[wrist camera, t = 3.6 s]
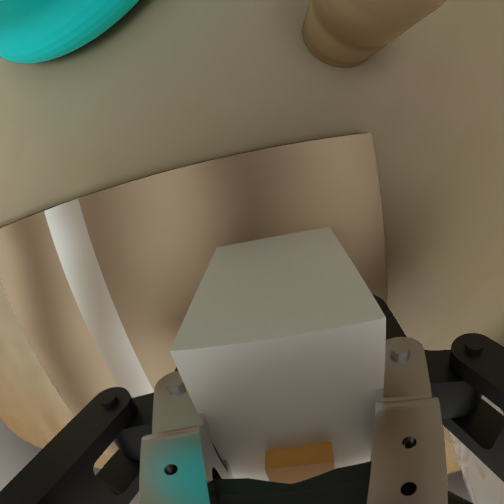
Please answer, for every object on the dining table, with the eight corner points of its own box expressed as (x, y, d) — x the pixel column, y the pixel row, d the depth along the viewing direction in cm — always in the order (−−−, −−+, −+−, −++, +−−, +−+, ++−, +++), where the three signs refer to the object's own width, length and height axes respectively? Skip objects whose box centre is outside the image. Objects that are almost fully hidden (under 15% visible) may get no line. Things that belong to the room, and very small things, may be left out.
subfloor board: (362, 133, 11) (371, 132, 10) (375, 426, 16) (379, 440, 15) (-2, 228, 13) (-16, 235, 12) (108, 441, 18) (103, 453, 17)
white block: (329, 226, 11) (397, 336, 5) (343, 361, 13) (376, 492, 7) (216, 247, 11) (161, 370, 5) (251, 375, 13) (240, 509, 7)
